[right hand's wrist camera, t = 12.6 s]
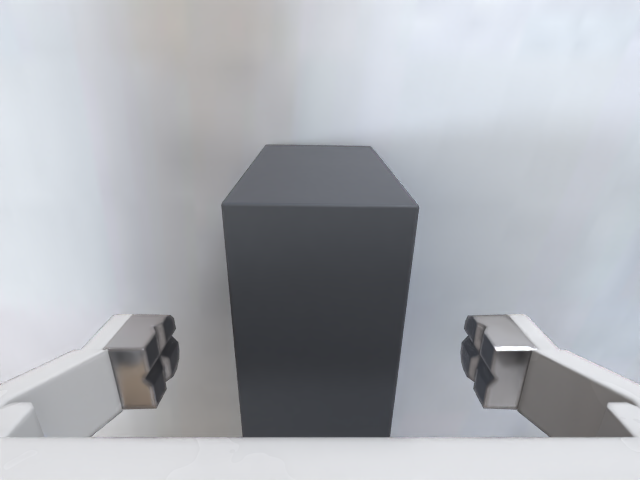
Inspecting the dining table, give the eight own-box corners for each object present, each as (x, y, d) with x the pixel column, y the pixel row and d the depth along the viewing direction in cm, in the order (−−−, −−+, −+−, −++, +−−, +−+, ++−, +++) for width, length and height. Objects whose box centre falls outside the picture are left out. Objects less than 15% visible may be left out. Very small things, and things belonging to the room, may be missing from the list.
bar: (265, 144, 16) (220, 202, 8) (371, 146, 16) (420, 205, 8) (280, 523, 26) (266, 700, 19) (345, 523, 26) (356, 699, 19)
